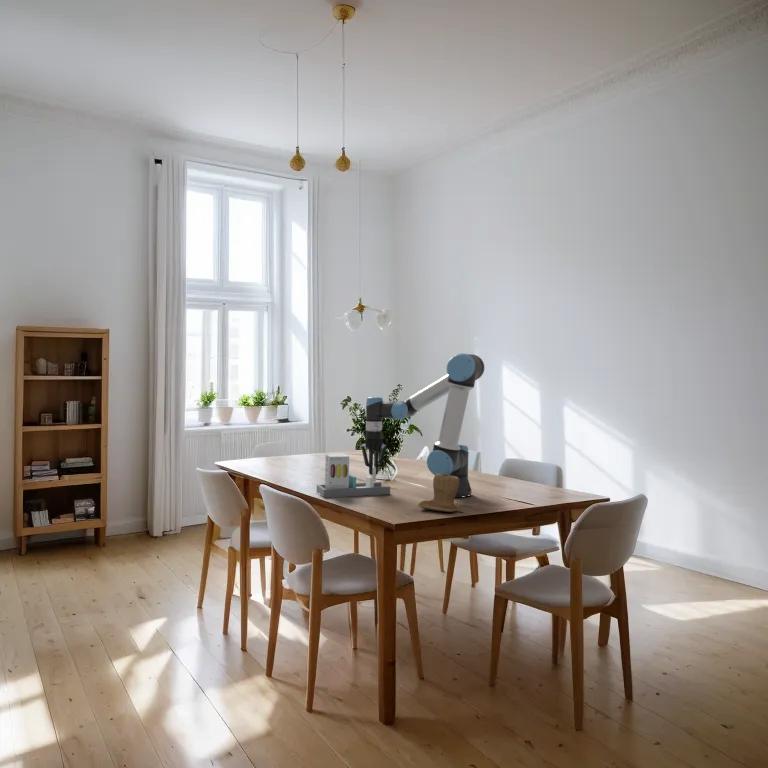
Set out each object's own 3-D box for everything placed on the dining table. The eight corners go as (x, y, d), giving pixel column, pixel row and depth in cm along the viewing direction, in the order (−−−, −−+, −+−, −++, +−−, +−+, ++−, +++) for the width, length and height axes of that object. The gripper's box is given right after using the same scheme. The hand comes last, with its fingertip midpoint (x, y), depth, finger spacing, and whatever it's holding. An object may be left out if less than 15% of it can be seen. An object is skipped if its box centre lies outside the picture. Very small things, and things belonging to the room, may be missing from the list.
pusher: (375, 491, 309) (375, 476, 308) (352, 492, 305) (353, 477, 305) (368, 487, 319) (368, 472, 319) (346, 488, 315) (346, 473, 315)
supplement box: (328, 494, 302) (328, 456, 302) (324, 490, 311) (324, 454, 311) (349, 493, 305) (349, 456, 304) (344, 490, 314) (345, 453, 313)
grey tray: (390, 494, 309) (390, 486, 309) (323, 497, 299) (323, 489, 299) (380, 489, 322) (380, 482, 322) (316, 492, 312) (316, 484, 312)
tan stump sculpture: (464, 510, 276) (465, 473, 275) (450, 515, 266) (451, 477, 265) (431, 505, 284) (432, 470, 284) (417, 510, 274) (417, 473, 274)
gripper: (362, 431, 308) (362, 483, 308) (389, 430, 312) (389, 482, 313) (358, 429, 315) (357, 480, 316) (384, 429, 319) (384, 479, 320)
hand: (373, 481), depth 314 cm, fingers closed
